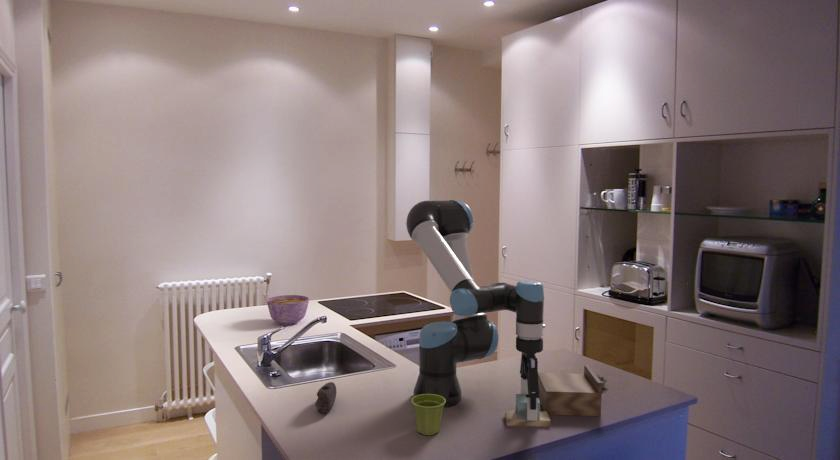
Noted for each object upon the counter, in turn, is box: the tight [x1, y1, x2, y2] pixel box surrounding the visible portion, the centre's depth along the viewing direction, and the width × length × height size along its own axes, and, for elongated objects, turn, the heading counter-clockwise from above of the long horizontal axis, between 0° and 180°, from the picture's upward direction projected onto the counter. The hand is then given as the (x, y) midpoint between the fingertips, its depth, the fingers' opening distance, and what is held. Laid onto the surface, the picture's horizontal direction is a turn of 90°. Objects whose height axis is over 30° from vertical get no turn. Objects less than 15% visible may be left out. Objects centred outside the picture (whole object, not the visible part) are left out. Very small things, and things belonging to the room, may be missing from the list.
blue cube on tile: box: [504, 393, 551, 428], centre depth 155 cm, size 12×6×7 cm, turn 87°
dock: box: [538, 364, 603, 417], centre depth 167 cm, size 16×16×10 cm
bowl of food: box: [266, 294, 310, 326], centre depth 262 cm, size 20×20×12 cm
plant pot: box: [410, 394, 446, 436], centre depth 149 cm, size 9×9×9 cm
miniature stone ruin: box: [595, 373, 609, 389], centre depth 182 cm, size 11×8×4 cm
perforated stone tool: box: [314, 381, 337, 414], centre depth 165 cm, size 15×5×7 cm, turn 176°
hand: (528, 410), depth 155 cm, fingers open, 13 cm apart
